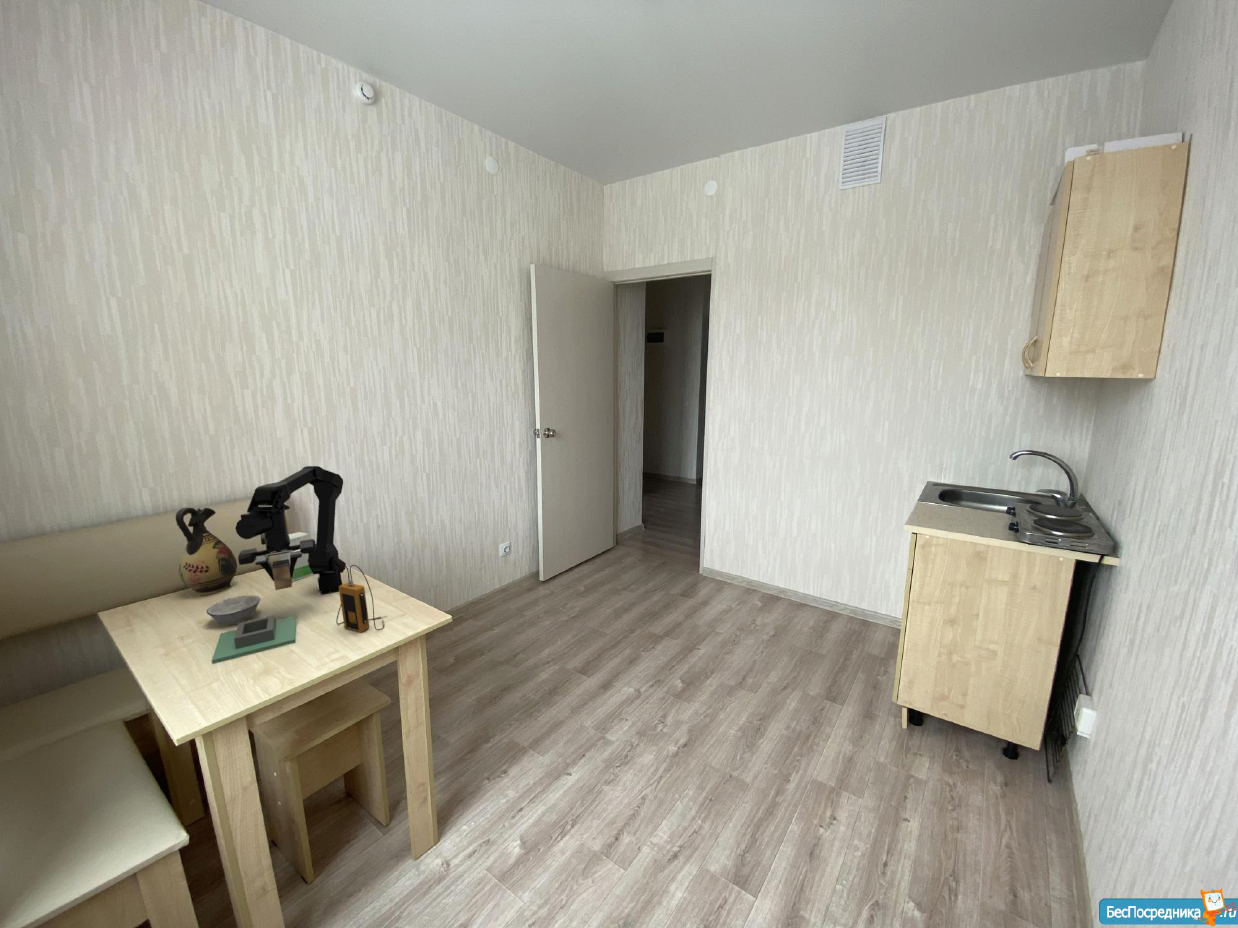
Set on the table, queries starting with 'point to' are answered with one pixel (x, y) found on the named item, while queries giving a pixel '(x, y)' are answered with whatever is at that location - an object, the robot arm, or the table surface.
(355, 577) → the table surface
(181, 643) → the table surface
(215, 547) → the ceramic jug
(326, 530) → the robot arm
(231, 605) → the bowl
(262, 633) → the board
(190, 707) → the table surface
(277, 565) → the plug
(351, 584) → the multimeter
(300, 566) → the skincare box
